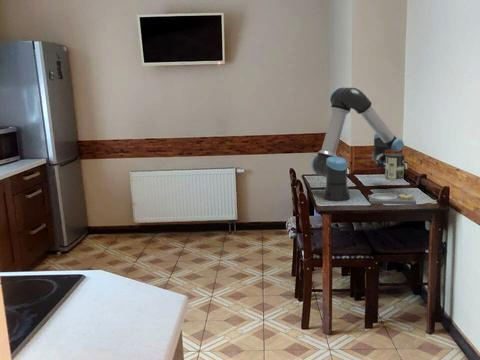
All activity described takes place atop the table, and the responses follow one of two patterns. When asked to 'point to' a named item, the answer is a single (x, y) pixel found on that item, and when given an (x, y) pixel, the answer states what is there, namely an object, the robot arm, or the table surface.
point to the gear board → (391, 198)
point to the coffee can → (394, 166)
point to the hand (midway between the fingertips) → (397, 166)
